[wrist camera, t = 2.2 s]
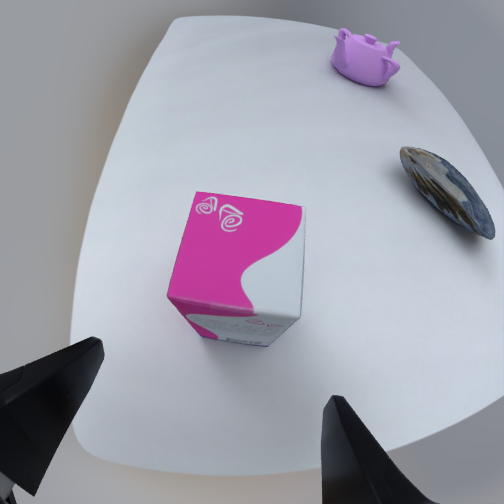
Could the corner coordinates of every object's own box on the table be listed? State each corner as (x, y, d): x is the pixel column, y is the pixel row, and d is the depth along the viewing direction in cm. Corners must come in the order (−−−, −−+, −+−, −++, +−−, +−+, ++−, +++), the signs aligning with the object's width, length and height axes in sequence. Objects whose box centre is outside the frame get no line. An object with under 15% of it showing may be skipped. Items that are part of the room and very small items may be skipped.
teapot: (386, 73, 43) (399, 41, 35) (387, 101, 37) (406, 62, 29) (333, 52, 44) (342, 18, 36) (322, 75, 38) (334, 33, 30)
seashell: (410, 253, 26) (437, 231, 21) (380, 161, 31) (397, 134, 26) (487, 251, 27) (511, 235, 22) (458, 176, 32) (475, 156, 27)
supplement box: (277, 279, 24) (311, 204, 13) (268, 347, 21) (303, 327, 11) (210, 268, 24) (194, 186, 13) (196, 336, 21) (162, 304, 11)
